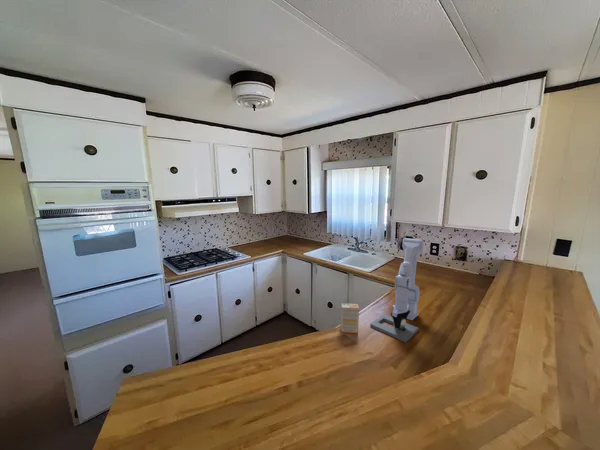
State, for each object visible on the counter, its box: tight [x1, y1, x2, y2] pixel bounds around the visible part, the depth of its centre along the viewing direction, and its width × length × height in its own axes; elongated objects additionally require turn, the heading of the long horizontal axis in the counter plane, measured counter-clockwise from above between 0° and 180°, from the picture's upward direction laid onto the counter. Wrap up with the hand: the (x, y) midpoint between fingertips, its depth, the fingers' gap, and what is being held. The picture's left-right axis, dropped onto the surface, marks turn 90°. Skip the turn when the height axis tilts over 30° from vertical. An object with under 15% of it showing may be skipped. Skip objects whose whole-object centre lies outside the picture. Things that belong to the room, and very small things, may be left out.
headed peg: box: [393, 317, 407, 331], centre depth 116 cm, size 5×5×6 cm
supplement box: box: [340, 303, 360, 335], centre depth 114 cm, size 8×5×13 cm, turn 84°
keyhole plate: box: [369, 314, 419, 343], centre depth 118 cm, size 15×18×2 cm
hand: (399, 325), depth 116 cm, fingers closed on headed peg, 5 cm apart
